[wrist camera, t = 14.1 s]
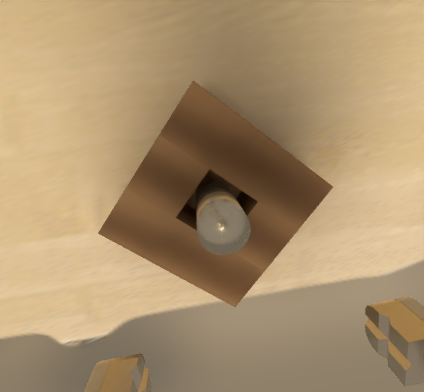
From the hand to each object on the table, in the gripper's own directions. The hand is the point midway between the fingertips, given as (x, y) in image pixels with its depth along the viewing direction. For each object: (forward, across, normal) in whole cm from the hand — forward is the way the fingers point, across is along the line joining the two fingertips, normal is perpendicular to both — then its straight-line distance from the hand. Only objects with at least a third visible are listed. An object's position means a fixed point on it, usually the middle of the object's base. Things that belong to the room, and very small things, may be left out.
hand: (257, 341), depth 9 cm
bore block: (+23, 0, 0) cm, 23 cm away
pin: (+21, 0, 0) cm, 21 cm away
